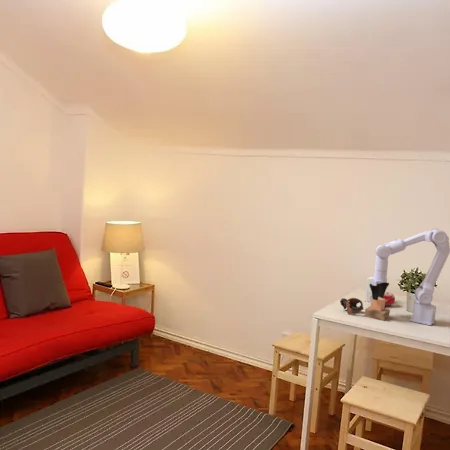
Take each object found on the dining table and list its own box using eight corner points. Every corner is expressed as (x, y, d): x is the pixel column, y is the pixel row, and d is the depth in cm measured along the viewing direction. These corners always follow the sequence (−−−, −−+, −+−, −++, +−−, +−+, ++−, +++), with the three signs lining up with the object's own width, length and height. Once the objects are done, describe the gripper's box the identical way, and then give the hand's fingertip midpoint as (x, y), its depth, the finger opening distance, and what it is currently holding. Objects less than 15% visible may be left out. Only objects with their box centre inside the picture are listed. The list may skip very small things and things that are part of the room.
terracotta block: (384, 309, 228) (385, 299, 228) (380, 311, 224) (381, 300, 224) (374, 306, 231) (375, 296, 231) (370, 308, 227) (371, 298, 227)
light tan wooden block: (389, 317, 229) (389, 309, 228) (383, 321, 221) (384, 313, 221) (370, 313, 234) (371, 305, 233) (364, 317, 226) (365, 309, 226)
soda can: (371, 289, 248) (389, 289, 253) (366, 300, 251) (384, 299, 256) (379, 298, 242) (397, 297, 247) (374, 309, 245) (392, 308, 250)
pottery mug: (364, 313, 235) (367, 301, 230) (356, 324, 228) (359, 312, 224) (342, 302, 240) (344, 290, 236) (333, 313, 235) (336, 301, 230)
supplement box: (382, 301, 259) (384, 278, 258) (378, 304, 253) (380, 280, 251) (368, 298, 263) (370, 276, 261) (364, 301, 257) (366, 278, 255)
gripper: (378, 267, 234) (375, 294, 236) (366, 270, 223) (364, 299, 224) (392, 269, 230) (389, 297, 231) (381, 273, 218) (378, 302, 220)
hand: (378, 298), depth 227 cm, fingers open, 7 cm apart
